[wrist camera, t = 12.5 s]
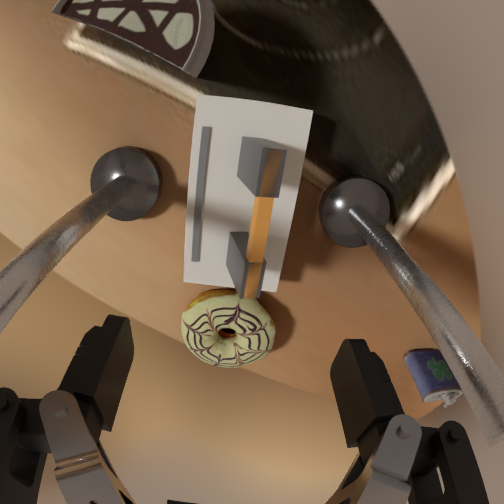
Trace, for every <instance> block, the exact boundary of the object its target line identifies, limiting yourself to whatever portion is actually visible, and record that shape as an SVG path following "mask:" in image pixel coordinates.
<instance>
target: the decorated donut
mask: <svg viewBox="0 0 504 504" xmlns="http://www.w3.org/2000/svg"><path fill="white" fill-rule="evenodd" d="M222 328H231V329H233V330H235V331H236V332H233V333H227V332H224V331H222V330H221V329H222ZM181 331H182V335H183V338H184V342H185V343H186V345H187V347H188V348H189V349H190V351H191V352H192V353H193V354H194V355H196V356H197V357H198V358H200V359H201V360H202V361H204V362H206V363H209V364H213V365H215V366H219V367H226V368H229V367H242V366H245V365H248V364H251V363H254V362H257V361H259V360H261V359H263V358H264V357H266V356H267V354H268V353H269V351H270V350H271V349H272V347H273V344H274V340H275V339H274V336H275V334H276V330H275V323H274V321H273V320H272V318H271V316H270V314H269V313H268V312H267V310H266V309H265V308H264V307H263V306H262V305H261V304H259V302H258V301H257V299H255V298H247V299H239V296H238V294H237V291H232V290H226V289H220V290H208V291H206V292H202V293H201V294H200V295H198V297H196V298H195V299H194V300H193V301H192V302H191V303H190V304H189V306H188V308H187V309H186V311H184V312H183V313H182V322H181Z"/></svg>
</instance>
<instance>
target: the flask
mask: <svg viewBox="0 0 504 504" xmlns="http://www.w3.org/2000/svg"><path fill="white" fill-rule="evenodd" d="M406 354H407V356H406ZM403 358H404V361H405V363H406V365H407V367H408V369H409V371H410V373H411V375H412V377H413V380H414V381H415V383H416V386H417V388H418V390H419V392H420V395H421V397H422V400H423V402H430V401H435V400H443V402H444V407H445V408H446V407H447V405H451V404H453V401H454V402H455V400H456V398H458V397H459V396H460V395H461V394H462V393H463V391H462V389H461V387H460V385H459V383H458V381H457V380H456V378H455V376H454V374H453V372H452V371H451V369H450V367H449V365H448V364H447V362H446V360H445V358H444V357H443V355H442V353H441V352H440V350H438V349H414V350H410V351H408V352H406V353H405V356H404V357H403Z"/></svg>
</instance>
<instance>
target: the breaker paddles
mask: <svg viewBox="0 0 504 504" xmlns="http://www.w3.org/2000/svg"><path fill="white" fill-rule="evenodd" d="M286 154H287V150H286V149H284V148H282V147H280V146H278V145H276V144H274V143H271V142H269V141H267V140H265V139H263V138H255V137H245V136H242V142H241V149H240V156H239V163H238V171H237V177H238V178H239V179H240V180H241V181H242V182H243V184H244V185H245V186H246V187H247V188H248V189H249V190H250V191H251V193H252V194H253V195H254V196H255V200H254V206H253V213H252V219H251V226H250V232H249V233H248V232H230V233H229V242H228V250H227V259H226V266H227V269H228V271H229V274H230V276H231V279H232V281H233V284H234V286H235V289H236V291H237V294H238V296H239V299H247V298H260V294H261V289H262V284H263V278H264V273H265V268H266V263H267V262H266V260H265V258H264V252H265V247H266V242H267V236H268V231H269V225H270V219H271V214H272V208H273V203H274V198H279V193H280V188H281V182H282V177H283V171H284V166H285V160H286Z"/></svg>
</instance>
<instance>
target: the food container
mask: <svg viewBox="0 0 504 504" xmlns="http://www.w3.org/2000/svg"><path fill="white" fill-rule="evenodd" d="M51 12H52V13H55V14H58V15H61V16H64V17H67V18H70V19H73V20H76V21H78V22H81V23H84V24H86V25H89V26H92V27H94V28H97V29H99V30H102V31H104V32H106V33H109V34H111V35H114V36H116V37H118V38H120V39H123V40H125V41H127V42H129V43H131V44H133V45H135V46H138V47H140V48H142V49H144V50H146V51H148V52H150V53H152V54H154V55H156V56H158V57H160V58H162V59H163V60H165V61H167V62H169V63H171V64H173V65H175V66H177V67H178V68H180V69H182V71H184V72H186V73H188V74H190V75H191V76H193V77H195V78H197V77H198V75H199V74H200V72H201V70H202V69H203V67H204V65H205V62H206V60H207V58H208V55H209V53H210V50H211V46H212V42H213V38H214V28H215V21H214V11H213V8H212V5H211V2H210V0H59V1H58V2H57V4H56V5H55V6H54V8H53V9H52V11H51Z"/></svg>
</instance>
